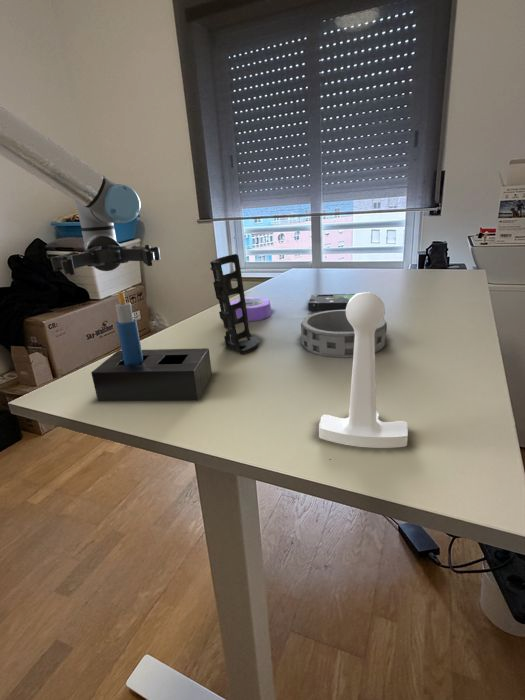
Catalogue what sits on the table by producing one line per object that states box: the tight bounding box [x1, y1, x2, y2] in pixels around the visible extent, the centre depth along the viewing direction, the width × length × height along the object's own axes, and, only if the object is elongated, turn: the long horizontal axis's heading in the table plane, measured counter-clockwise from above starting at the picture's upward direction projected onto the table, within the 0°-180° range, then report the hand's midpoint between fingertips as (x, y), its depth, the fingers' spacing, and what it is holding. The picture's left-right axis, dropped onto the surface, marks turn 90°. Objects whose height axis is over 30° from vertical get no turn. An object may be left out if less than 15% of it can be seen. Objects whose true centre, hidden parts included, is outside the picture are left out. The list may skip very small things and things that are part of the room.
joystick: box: [318, 291, 409, 449], centre depth 51 cm, size 11×8×20 cm
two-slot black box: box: [90, 347, 213, 402], centre depth 71 cm, size 10×17×6 cm, turn 84°
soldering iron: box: [114, 291, 143, 365], centre depth 70 cm, size 3×3×18 cm
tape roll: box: [230, 297, 272, 322], centre depth 114 cm, size 12×12×4 cm
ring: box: [300, 310, 388, 358], centre depth 88 cm, size 18×18×5 cm
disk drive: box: [307, 293, 357, 312], centre depth 117 cm, size 10×3×15 cm
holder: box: [209, 253, 261, 355], centre depth 88 cm, size 11×8×20 cm
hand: (111, 262), depth 74 cm, fingers open, 13 cm apart
